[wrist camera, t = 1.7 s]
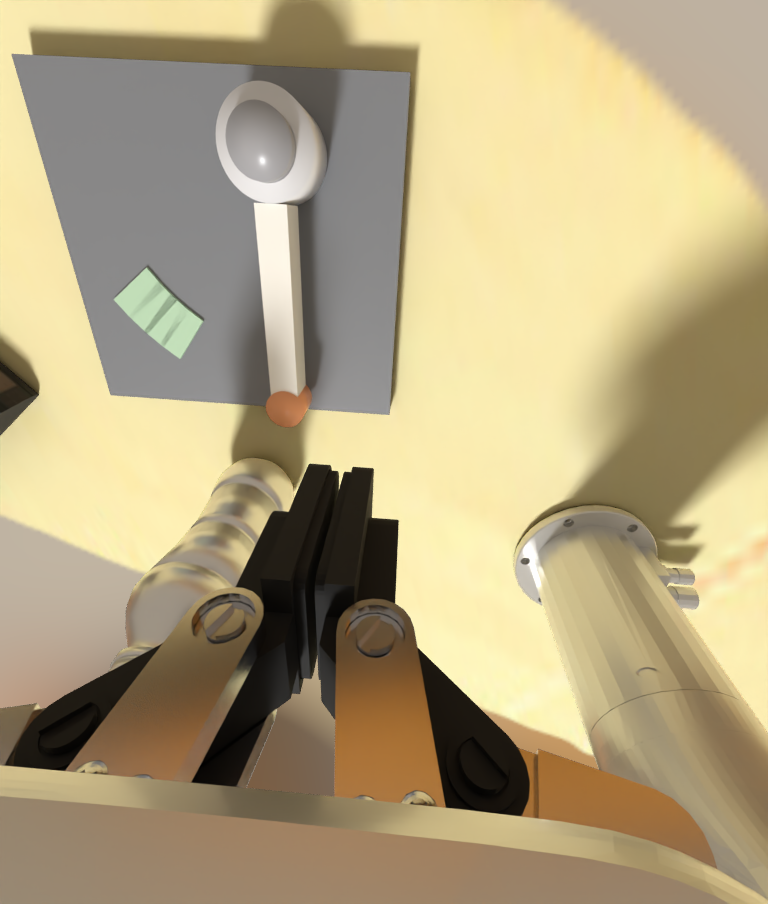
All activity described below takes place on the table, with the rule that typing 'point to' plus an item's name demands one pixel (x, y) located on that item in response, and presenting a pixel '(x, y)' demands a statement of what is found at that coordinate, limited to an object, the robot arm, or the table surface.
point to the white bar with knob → (276, 220)
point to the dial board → (221, 225)
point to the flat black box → (13, 397)
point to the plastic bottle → (205, 553)
